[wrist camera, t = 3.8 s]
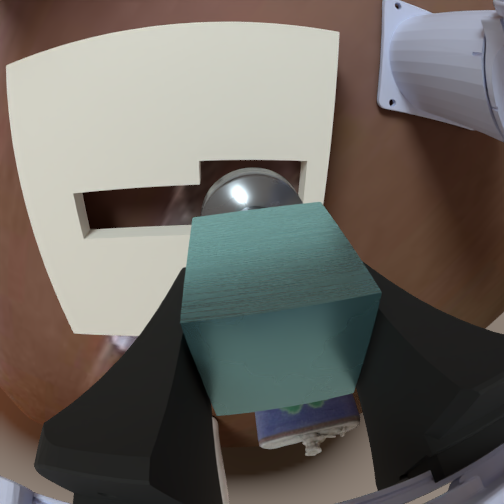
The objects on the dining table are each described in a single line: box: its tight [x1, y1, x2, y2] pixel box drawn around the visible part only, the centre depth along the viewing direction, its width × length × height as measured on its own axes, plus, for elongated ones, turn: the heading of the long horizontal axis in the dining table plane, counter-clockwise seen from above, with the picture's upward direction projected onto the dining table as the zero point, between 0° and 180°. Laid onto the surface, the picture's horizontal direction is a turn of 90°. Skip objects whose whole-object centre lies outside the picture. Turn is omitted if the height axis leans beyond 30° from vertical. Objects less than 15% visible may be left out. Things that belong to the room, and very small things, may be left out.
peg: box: [180, 167, 382, 416], centre depth 10 cm, size 4×4×8 cm
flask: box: [255, 394, 360, 456], centre depth 25 cm, size 9×3×11 cm, turn 103°
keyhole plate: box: [6, 22, 339, 336], centre depth 18 cm, size 18×20×3 cm
